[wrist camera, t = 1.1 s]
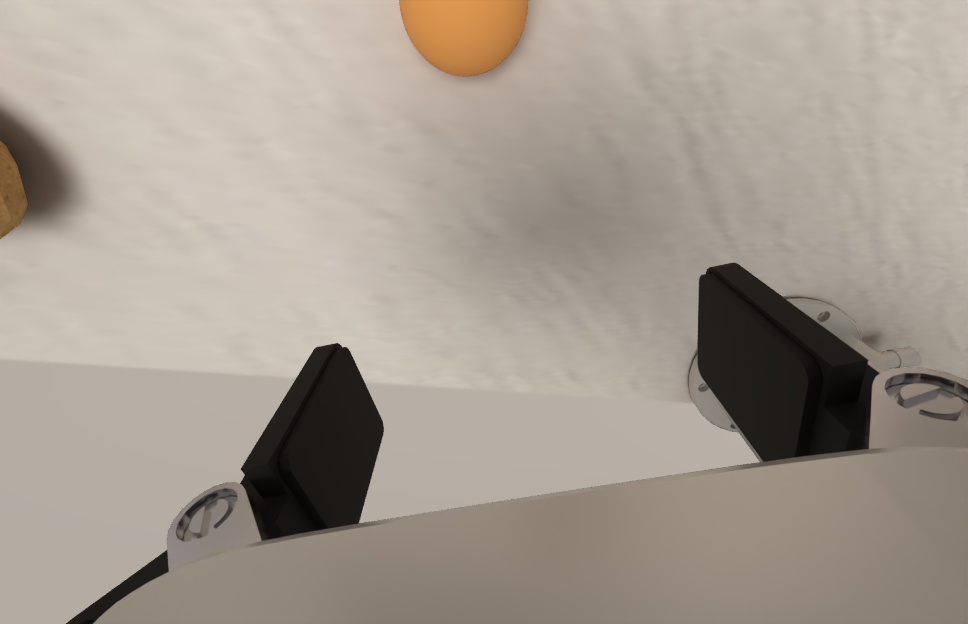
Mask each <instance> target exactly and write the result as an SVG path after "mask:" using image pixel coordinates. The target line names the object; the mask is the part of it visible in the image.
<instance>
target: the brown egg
mask: <svg viewBox="0 0 968 624" xmlns="http://www.w3.org/2000/svg"><path fill="white" fill-rule="evenodd" d="M399 3H400V11H401V16H402V20H403V23H404V26H405V29H406V31H407V33H408V36H409V38H410V39H411V41H412V43H413V45H414V46H415V47H416V49H417V50H418V51H419V53H420V54H421V55H422V56H423V57H424V58H425V59H426V60H427V61H428V62H429V63H431V64H432V65H433V66H435V67H436V68H438V69H440V70H442V71H444V72H446V73H449V74H453V75H458V76H473V75H479V74H482V73H485V72H487V71H489V70H491V69H493V68H494V67H496V66H497V65H499V64H500V63H501V62H502V61H503V60H504V59H505V58H507V56H508V55H509V54H510V53H511V52H512V50H513V49H514V47H515V45H516V44H517V42H518V40H519V38H520V36H521V34H522V31H523V28H524V25H525V21H526V17H527V10H528V0H399Z"/></svg>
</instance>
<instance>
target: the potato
mask: <svg viewBox="0 0 968 624" xmlns="http://www.w3.org/2000/svg"><path fill="white" fill-rule="evenodd" d="M27 206H28V203H27V199H26V195H25V192H24V188H23V184H22V181H21V177H20V173H19V170H18V166H17V164H16V162H15V161H14V159H13V157H12V155H11V154H10V152H9V150H8V148H7V147H6V145H5V144H4V143H2V142H1V141H0V239H1V238H2V237H4V236H5V235H6V234H8V233H9V232H10V231H11V230H13V229H14V228H15V227H17V226H18V225H19V224H20V223H21V221H22V218H23V216H24V213H25V211H26V208H27Z"/></svg>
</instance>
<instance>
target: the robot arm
mask: <svg viewBox="0 0 968 624" xmlns="http://www.w3.org/2000/svg"><path fill="white" fill-rule="evenodd" d="M919 363H920V355H919V353H918V351H917V350H916V349H914V348H912V347H904V348H898V349H892V350H887V351H886V352H878V351H876V350H873V349H872V348H870V347H869V346H867V345H866V344H864V343H863V340H862V336H861V332H860V330H859V329H858V327H857V325H856V323H855V322H854V321H853V320H852V319H851V318H850V317H849V316H847V315H846V314H845V313H843V312H842V311H840V310H839V309H837V308H835V307H834V306H832V305H830V304H827V303H824V302H822V301H819V300H813V299H806V298H793V299H785V298H783V297H782V296H781V295H779V294H778V293H777V292H775V291H774V290H773V289H771V288H770V287H768V286H767V285H766V284H764V283H763V282H762V281H760V280H759V279H758V278H756V277H755V276H753V275H752V274H751V273H749V272H748V271H747V270H745V269H744V268H743V267H741V266H740V265H738V264H737V263H729V264H724V265H719V266H714V267H710V268H708V269H707V272H706V274H705V275H701V276H700V279H699V310H698V354H697V356H696V357H695V359H694V361H693V364H692V367H691V370H690V373H689V390H690V395H691V398H692V400H693V402H694V404H695V405H696V407H697V408H698V409H699V411H700V413H701V414H702V415H703V416H704V417H705V418H706V419H707V420H708V421H710V422H711V423H712V424H714V425H716V426H718V427H720V428H723V429H725V430H729V431H732V432H739V433H740V435H741V436H742V438H743V439H744V440H745V442H746V443H747V445H748V446H749V447H750V448H751V450H752V451H753V453H754V454H755V456H756V457H757V458H758V460H759V461H760V462H759V463H752V464H745V465H737V466H730V467H723V468H717V469H710V470H704V471H696V472H690V473H683V474H676V475H669V476H663V477H656V478H650V479H643V480H636V481H629V482H622V483H616V484H609V485H602V486H596V487H589V488H582V489H576V490H569V491H563V492H556V493H550V494H543V495H537V496H530V497H524V498H517V499H511V500H504V501H498V502H492V503H485V504H479V505H472V506H466V507H459V508H454V509H447V510H441V511H434V512H428V513H422V514H415V515H409V516H403V517H397V518H390V519H384V520H378V521H372V522H365V523H359V520H360V517H361V513H362V509H363V506H364V502H365V498H366V495H367V491H368V487H369V484H370V480H371V477H372V473H373V469H374V466H375V462H376V458H377V455H378V451H379V448H380V444H381V440H382V436H383V432H384V427H383V421H382V419H381V417H380V415H379V412H378V410H377V408H376V406H375V404H374V402H373V400H372V397H371V396H370V393H369V391H368V389H367V387H366V385H365V383H364V380H363V378H362V376H361V374H360V372H359V370H358V368H357V365H356V363H355V361H354V359H353V357H352V355H351V353H350V351H349V349H348V348H347V347H343V348H342V346H341V345H340V344H338V343H336V344H331V345H326V346H321V347H316V348H315V349H314V350H313V352H312V354H311V355H310V357H309V359H308V360H307V362H306V363H305V365H304V367H303V368H302V370H301V372H300V373H299V375H298V377H297V378H296V380H295V382H294V383H293V385H292V386H291V388H290V390H289V391H288V393H287V395H286V396H285V398H284V399H283V401H282V403H281V404H280V406H279V408H278V409H277V411H276V412H275V414H274V416H273V417H272V419H271V421H270V422H269V424H268V425H267V427H266V429H265V430H264V432H263V434H262V435H261V437H260V438H259V440H258V442H257V443H256V445H255V447H254V448H253V450H252V452H251V454H250V455H249V457H248V458H247V460H246V461H245V463H244V465H243V466H242V468H241V470H242V471H243V473H244V474H245V476H244V478H243V480H242V481H241V483H240V484H239V483H236V482H227V483H223V484H220V485H217V486H214V487H212V488H210V489H208V490H206V491H204V492H203V493H201V494H200V495H199V496H197V497H196V498H194V499H193V500H192V501H191V502H190V503H188V504H187V505H186V506H185V507H184V508H183V509H182V510H181V511H180V513H179V514H178V515H177V517H176V518H175V519H174V520H173V522H172V524H171V526H170V528H169V530H168V535H167V550H166V551H165V552H164V553H162V554H161V555H159V556H158V557H157V558H155V559H154V560H153V561H151V562H150V563H148V564H147V565H146V566H145V567H143V568H142V569H140V570H139V571H137V572H136V573H135V574H133V575H132V576H131V577H129V578H128V579H127V580H125V581H124V582H122V583H121V584H120V585H118V586H117V587H115V588H114V589H113V590H111V591H110V592H108V593H107V594H106V595H104V596H103V597H102V598H100V599H99V600H97V601H96V602H95V603H93V604H92V605H90V606H89V607H88V608H86V609H85V610H84V611H83V612H81V613H79V614H78V615H77V616H75V617H74V618H73V619H71V620H70V621H69V622H68V623H66V624H968V380H965V379H963V378H960V377H957V376H954V375H952V374H949V373H945V372H940V371H936V370H931V369H924V368H913V367H908V366H914V365H918V364H919ZM902 367H908V368H902ZM890 368H894V369H891V370H889V369H890Z"/></svg>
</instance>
